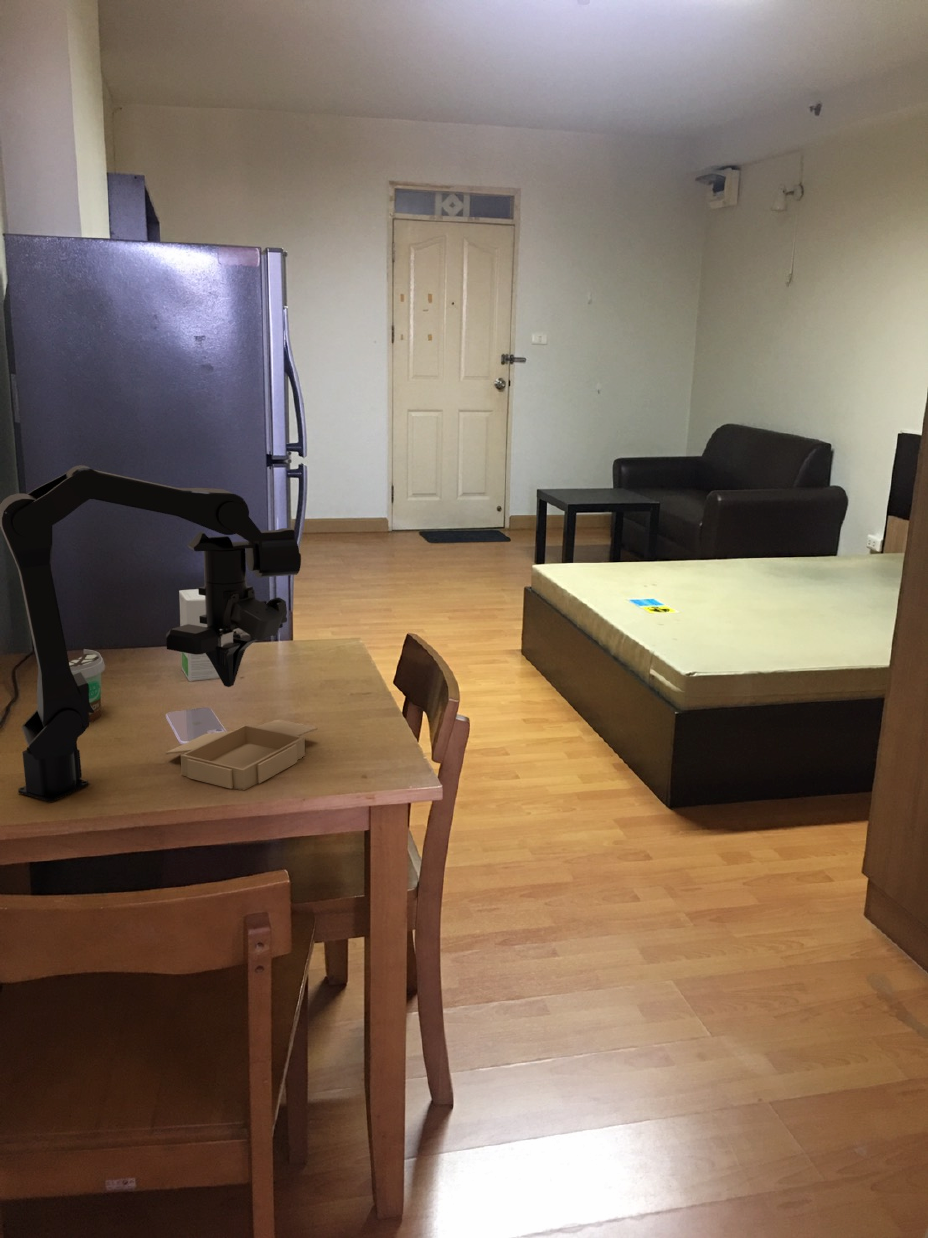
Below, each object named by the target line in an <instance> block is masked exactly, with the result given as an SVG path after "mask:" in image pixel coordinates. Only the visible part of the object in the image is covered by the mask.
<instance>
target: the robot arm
mask: <svg viewBox="0 0 928 1238" xmlns="http://www.w3.org/2000/svg"><path fill="white" fill-rule="evenodd" d="M90 500H96V501H100V502H106V503H110V504H114V505H120V506H125V507H129V508H130V507H131V508H136V509H140V510H144V511H151V512H154V513H160V514H165V515H169V516H175V517H179V518H180V519H182V520H183V519H184V520H185V521H189V522H191V523H193V524H196V525H199V526H201V527H203V528H206V529H209V530H211V531H214V532H216V533H219V534H221V536H220V535H219V536H208V535H207V534H206V533H205V532H203V531H198V532H197V534H196V536H195V537H194V538H192V540H190V541H189V542H188V543H187V548H189V549H191V550H193V551H194V552H203V573H204V586H200V587H199V586H198V588H197V589H198V592H199V595H204V596H205V607H206V614H205V615H202V616H199V618H200V623H202V624H207V627H202V626H196V625H190V624H187V625H183V626H180V625H179V626H177V627H174V628H171V629H169V631H168V632H167V633H166V634H165V640H166V650H170V651H175V652H178V653H179V652H180V653H181V652H184V653H189V654H195V655H199V654H204V653H206V655H207V656H208V658H209V659H210V661H211V663H212V664H213V666H214V668H215V670H216V672H217V673H218V675H219V677H220V678H219V679H220V681H221V683H222V684H223V686H224V687H227V688H231V687H233V686H234V684H235V682H236V678H237V676H238V673H239V670H240V665H241V662H242V659H243V657H244V655H245V652H246V650H247V648H248V647H250V646H251V645H252V644H253V643H255V642H257V641H264V640H266V639H267V638H269V637H276V636H277V635H278V632H279V629H281V628H283V626H284V624H285V623H287V622H288V617H287V615H288V610H287V609H288V608H287V601H286V600H284V599H282V598H281V597H279V596H278V597H274V598H271V599H270V600H269V601H266V600H262V601H260V600H258V599H256V596H255V595H256V594H255V589H254V586H251V585H247V570H248V571H249V572H254V575H255V576H256V578H259V579H260V578H270V577H271V578H273V577H287V576H288V577H289V576H297V575H299V573H300V570H301V566H302V565H301V564H302V554H301V553H300V549H299V545H298V542H297V540H296V537H295V534H296V533H295V530H294V529H292V528H290V527H285V528H284V527H283V528H279V529H271V530H269V529H267V530H260V529H259V527H258V526H257V525H256V524H255V522H254V521H253V520H252V519H251V518H250V510H249V506H248V504H247V502H246V500H245V498H243V497H242V496H240V495H238V494H236V493H233V492H231V491H228V490H226V489H223V488H214V487H213V488H211V487H210V488H207V487H174V486H169V485H165V484H161V483H157V482H151V481H147V480H143V479H137V478H133V477H129V476H124V475H119V474H116V473H109V472H106V471H101V470H96V469H94V468H91V467H89V466H87V465H80V464H79V465H76V466H75V465H74V466H73V467H71V468H70V469H69V470H68V471H67V472H64V473H63V474H62V475H60V476H58V477H56V478H53V479H51V480H49V481H48V482H45V483H44V484H42V485H40V486H38V487H36V488H34V489H33V490H31V491H29V492H28V493H14V494H10V495H9V496H7V497H6V498H5V499H3V500H2V502H1V503H0V530H1V532H2V534H3V536H4V539H5V542H6V544H7V547H8V550H9V551H10V553H11V555H12V557H13V560H14V562H15V565H16V568H17V570H18V575H19V578H20V580H19V581H20V585H21V590H22V594H23V599H24V604H25V608H26V610H25V611H26V615H27V619H28V623H29V629H30V633H31V638H32V644H33V647H34V649H33V650H34V653H35V658H36V663H37V668H38V671H37V681H36V682H37V683H36V710H35V711H34V712H33V713H32V714H31V715H30V716H29V718H27V719H26V721H25V722H23V724H22V725H21V730H22V733H23V735H24V739H25V741H26V744H27V748H26V749H24V750H23V751H22V762H23V772H24V773H23V774H24V780H25V785H24V786H22V787H19V788H18V789H17V793H18V794H22V795H24V796H28V797H32V798H35V799H37V800H38V799H39V800H42V801H46V802H49V803H50V802H55V801H57V800H60V799H62V798H64V797H65V796H68V795H71V794H72V793H75V792H77V791H79V790H81V789H83V788H86V787H88V786H89V781H88V780H85V779H82V778H83V777H82V775H83V774H82V765H81V763H82V762H81V752H80V751H81V750H79V749H78V742H77V741H78V738H79V737H80V736H82V735H83V734H84V733H85V732H86V730H87V728H89V726H90V723H91V722H90V715H89V712H90V713H94V710H93V708H92V706H91V705H90V702H89V684H88V683H87V681H86V679H85V678H84V676H83V674H82V673H81V672H79V673H77V674H74V675H73V674H72V672H71V669H70V665H69V660H70V659H69V656H68V651H67V646H66V645H67V644H66V639H65V634H64V630H63V625H62V620H61V615H60V609H59V604H58V599H57V593H56V588H55V582H54V577H53V573H52V553H53V526H54V525H55V524H57V523H58V522H60V521H62V520H63V519H65V518H67V517H68V515H70V514H71V513H73V512H74V511H75V510H76V509H78V508H79V507H80V506H81V505H83V504H84V503H86V502H87V501H90ZM233 535H236V536H238V537H240V538H242V539H243V540H245V541H243V540H242V541H232V539H231V538H230V536H233ZM220 629H221V630H220Z"/></svg>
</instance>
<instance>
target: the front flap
mask: <svg viewBox="0 0 928 1238" xmlns="http://www.w3.org/2000/svg"><path fill="white" fill-rule="evenodd" d="M255 727H258V728H263V729H268V730H272V731H277V732H282V733H286V734H291V735H296V736H300V737H302V736H304V735H307V734H309V733H311V732H314V731H317V730H318V727H316V726H313V725H307V724H302V723H297V722H293V721H288V720H283V719H279V718H278V719H277V718H276V719H274V720H271V721H268V722H265V723H262V724H259V725H256V726H255Z"/></svg>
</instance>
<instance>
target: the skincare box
mask: <svg viewBox="0 0 928 1238" xmlns="http://www.w3.org/2000/svg"><path fill="white" fill-rule="evenodd" d="M178 592H179V624H180V625H179V627H180V626H183V625H187V624H190V625H196V626H202V627H207V624H202V623H200V618H199V616H202V615H205V614H206V607H205V596H204V595H199V592H198V588H196V589H195V588H194V589H182V590H178ZM220 630H221V629H220ZM180 655H181V656H180V659H181V660H180V661H181V670H182V672H183V673H184V675H185V677H186V678H187V680H188V681H189V682H196V681H198V682H199V681H206V680H215V679H220V677H219V675H218V673H217V672H216V670H215V668H214V666H213V664H212V663H211V661H210V659H209V658H208V656H207V655H206V653H204V654H199V655H195V654H189V653H184V652H180Z"/></svg>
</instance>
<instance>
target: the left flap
mask: <svg viewBox="0 0 928 1238" xmlns="http://www.w3.org/2000/svg"><path fill="white" fill-rule="evenodd" d="M226 731H227V730H226ZM231 731H232V730H230V731H227V732H218V733H209V734H204V735H202V736H200V737H198V738H195V739H193V740H191V741H189V742H187V743H185V744H180V745H179V746H176V747H173V748H172V749H170V750H168V751H165V755H175V754H184V753H186V752H188V751H191V750H193V749H195V748H197V747H199V746H201V745H203V744H205V743H207V742H210V741H212V740H214V739H216V738H218V737H220V736H222V735H224V734H226V733H229V732H231Z"/></svg>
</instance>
